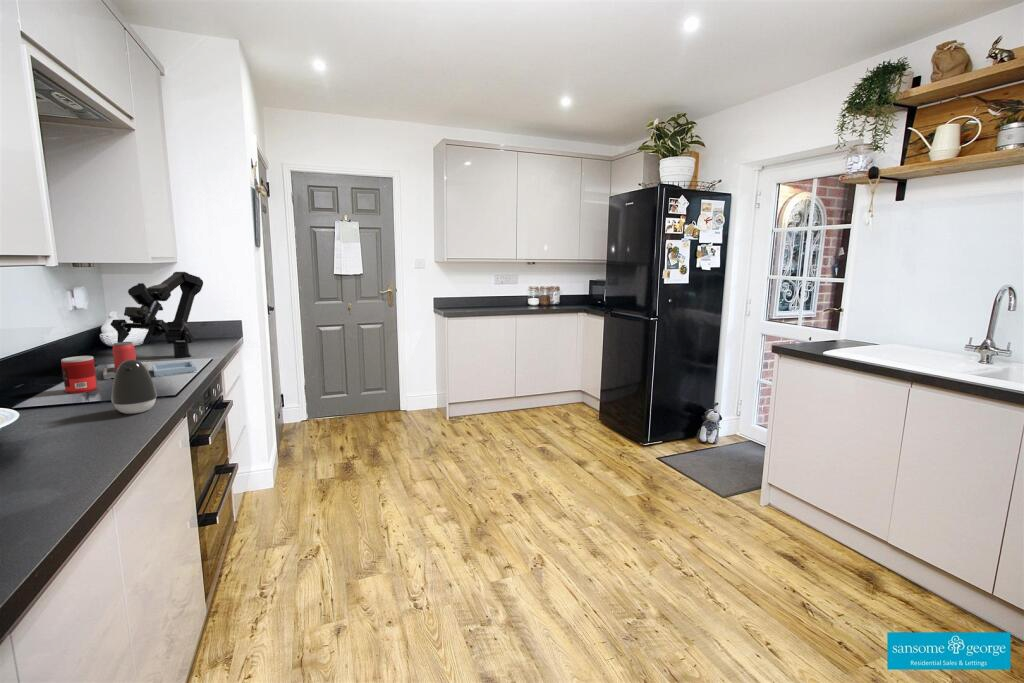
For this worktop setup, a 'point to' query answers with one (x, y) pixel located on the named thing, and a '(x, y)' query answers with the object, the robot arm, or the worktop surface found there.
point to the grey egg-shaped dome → (133, 388)
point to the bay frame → (112, 375)
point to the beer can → (123, 353)
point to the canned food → (79, 374)
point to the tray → (173, 368)
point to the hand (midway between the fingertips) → (131, 343)
